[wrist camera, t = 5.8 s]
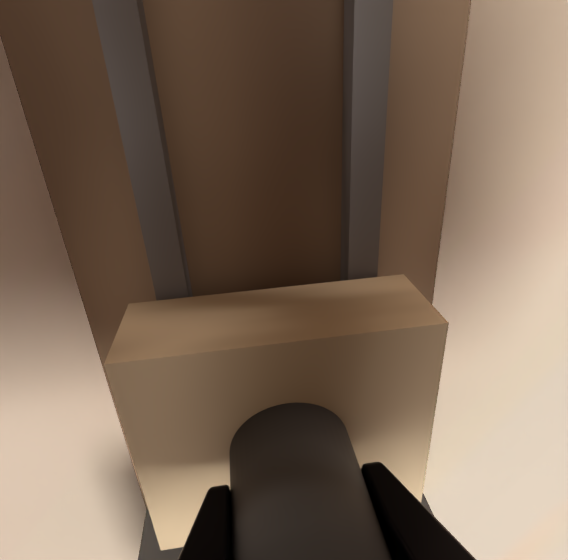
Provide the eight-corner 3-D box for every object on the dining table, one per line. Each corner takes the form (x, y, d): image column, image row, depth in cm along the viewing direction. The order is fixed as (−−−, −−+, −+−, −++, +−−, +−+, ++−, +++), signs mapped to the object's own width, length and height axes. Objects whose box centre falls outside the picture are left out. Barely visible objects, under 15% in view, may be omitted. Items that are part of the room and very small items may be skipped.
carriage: (171, 471, 13) (130, 788, 7) (128, 303, 10) (8, 596, 4) (389, 439, 13) (511, 704, 8) (403, 274, 11) (606, 495, 5)
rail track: (152, 473, 16) (130, 603, 12) (-117, -485, 6) (-668, -1396, 2) (396, 438, 17) (449, 547, 13) (484, -442, 7) (791, -1044, 3)
